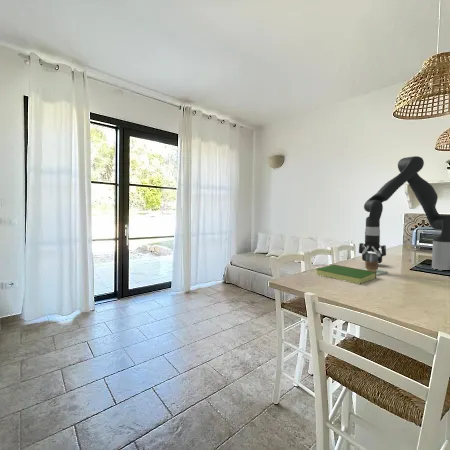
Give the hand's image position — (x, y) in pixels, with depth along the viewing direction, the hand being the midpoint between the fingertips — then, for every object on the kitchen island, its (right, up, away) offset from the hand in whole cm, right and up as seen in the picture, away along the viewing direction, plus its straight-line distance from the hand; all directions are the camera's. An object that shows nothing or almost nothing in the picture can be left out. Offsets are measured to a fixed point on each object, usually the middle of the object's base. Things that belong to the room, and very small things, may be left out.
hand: (371, 261), depth 147 cm
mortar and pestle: (+11, -5, +20) cm, 24 cm away
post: (0, -6, 0) cm, 6 cm away
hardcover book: (-20, -8, -8) cm, 22 cm away
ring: (0, -4, 0) cm, 4 cm away
